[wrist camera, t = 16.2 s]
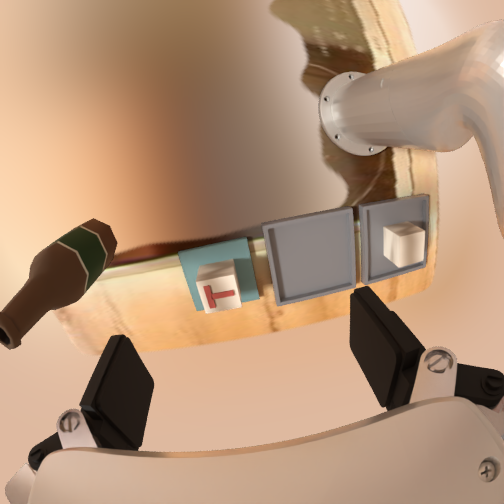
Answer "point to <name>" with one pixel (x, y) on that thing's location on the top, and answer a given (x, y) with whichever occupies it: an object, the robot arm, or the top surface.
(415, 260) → the plain cube
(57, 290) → the beer bottle
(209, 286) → the letter cube
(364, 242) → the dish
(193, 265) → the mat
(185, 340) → the top surface
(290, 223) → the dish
